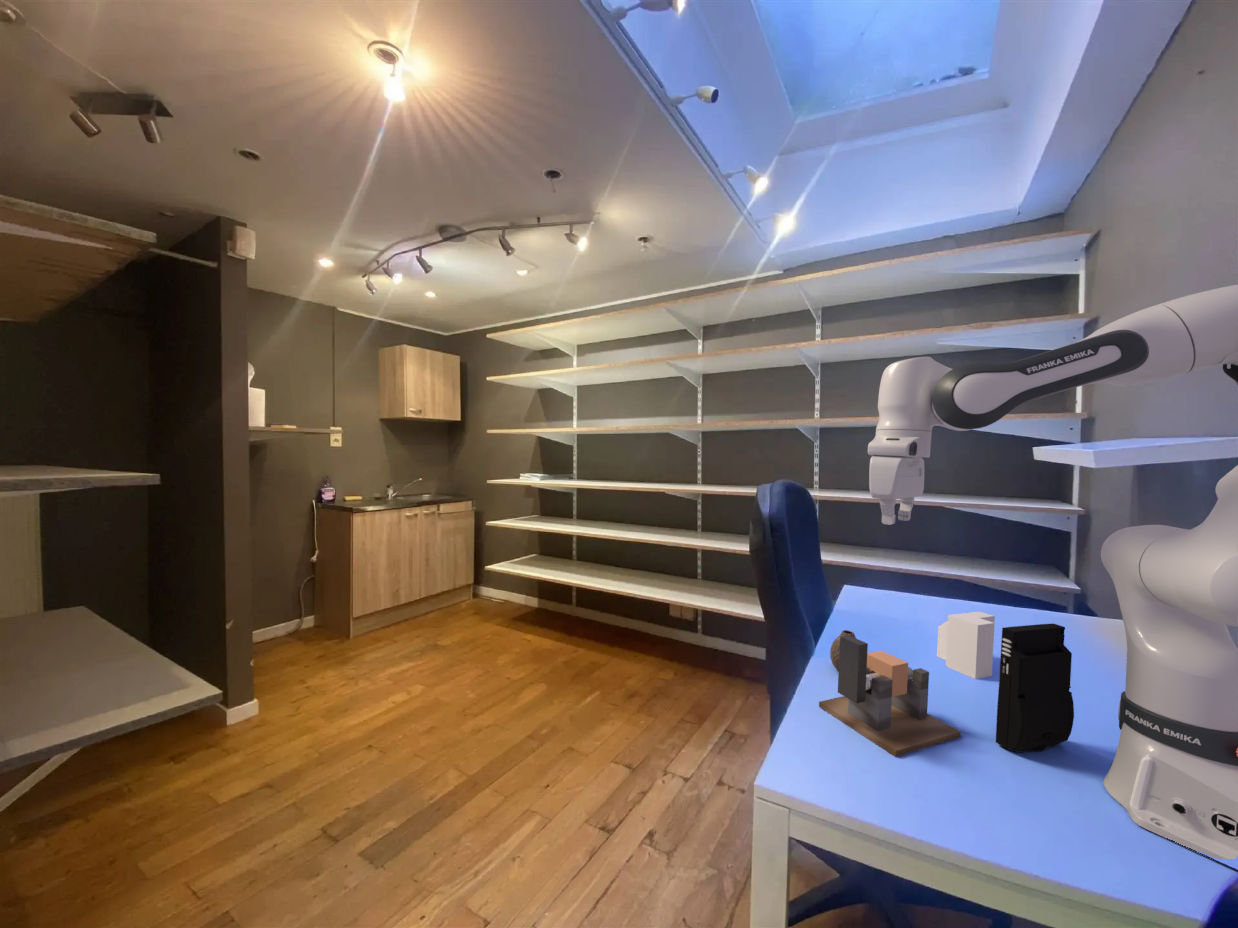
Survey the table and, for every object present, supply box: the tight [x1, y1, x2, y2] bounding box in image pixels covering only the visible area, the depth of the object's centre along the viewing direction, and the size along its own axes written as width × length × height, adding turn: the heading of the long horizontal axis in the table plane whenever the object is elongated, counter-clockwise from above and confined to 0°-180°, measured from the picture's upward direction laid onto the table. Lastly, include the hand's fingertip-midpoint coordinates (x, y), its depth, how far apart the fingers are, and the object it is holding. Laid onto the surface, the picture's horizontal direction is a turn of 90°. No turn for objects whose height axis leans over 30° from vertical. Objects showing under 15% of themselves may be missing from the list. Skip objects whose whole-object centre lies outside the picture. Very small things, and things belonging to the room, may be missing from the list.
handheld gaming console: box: [995, 623, 1075, 753], centre depth 81 cm, size 12×5×20 cm, turn 105°
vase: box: [829, 629, 858, 672], centre depth 108 cm, size 7×7×9 cm
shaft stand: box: [818, 667, 962, 758], centre depth 87 cm, size 16×16×10 cm
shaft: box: [837, 635, 914, 703], centre depth 86 cm, size 4×15×10 cm, turn 112°
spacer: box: [867, 650, 909, 697], centre depth 87 cm, size 5×4×6 cm
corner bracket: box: [936, 611, 996, 680], centre depth 113 cm, size 11×11×12 cm
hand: (896, 522), depth 89 cm, fingers open, 8 cm apart
